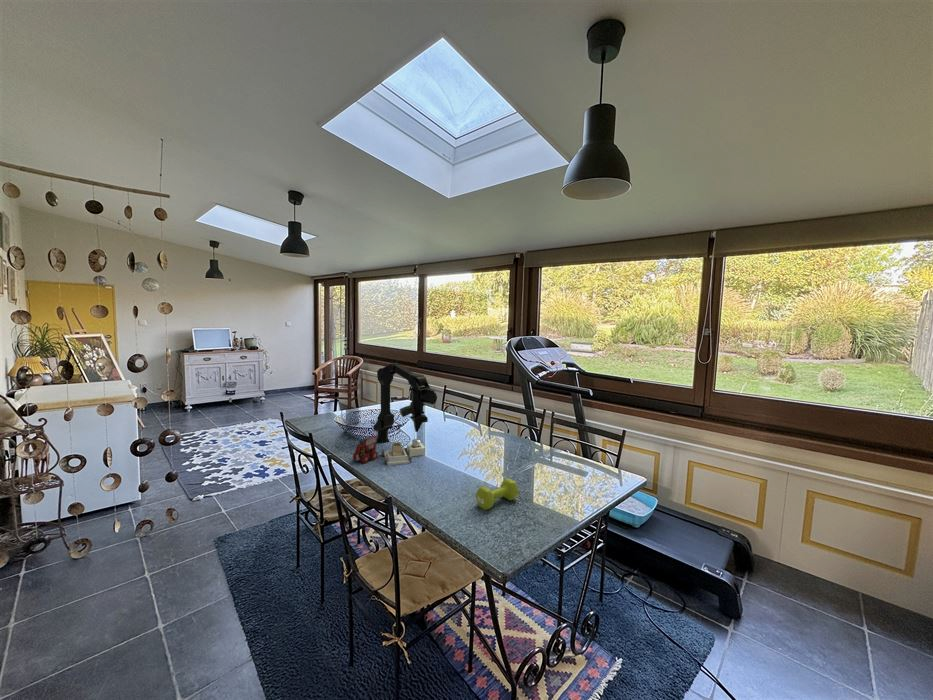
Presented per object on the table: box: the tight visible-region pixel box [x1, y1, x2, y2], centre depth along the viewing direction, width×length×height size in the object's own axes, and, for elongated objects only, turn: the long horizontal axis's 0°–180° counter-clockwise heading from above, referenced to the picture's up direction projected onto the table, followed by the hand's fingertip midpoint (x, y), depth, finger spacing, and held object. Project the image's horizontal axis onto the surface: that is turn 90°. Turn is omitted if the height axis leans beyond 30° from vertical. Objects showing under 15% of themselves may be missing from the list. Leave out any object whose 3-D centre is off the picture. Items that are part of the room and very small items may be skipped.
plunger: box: [411, 438, 421, 448], centre depth 176 cm, size 4×4×4 cm
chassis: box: [381, 447, 413, 466], centre depth 168 cm, size 14×12×3 cm
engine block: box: [391, 441, 403, 456], centre depth 167 cm, size 4×4×7 cm
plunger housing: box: [406, 442, 426, 457], centre depth 176 cm, size 7×7×4 cm
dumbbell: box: [475, 478, 520, 511], centre depth 131 cm, size 16×8×7 cm, turn 128°
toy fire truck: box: [352, 435, 379, 464], centre depth 164 cm, size 7×12×10 cm, turn 147°
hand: (416, 431), depth 175 cm, fingers closed
